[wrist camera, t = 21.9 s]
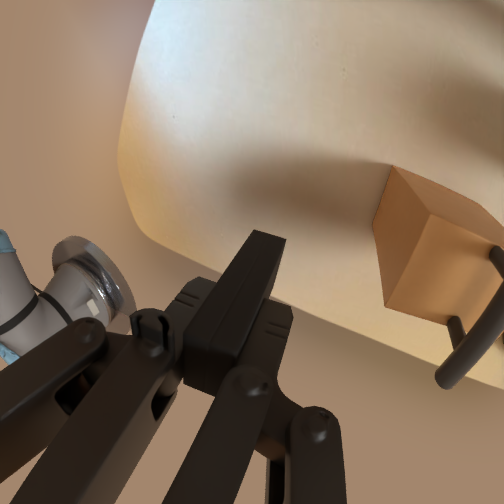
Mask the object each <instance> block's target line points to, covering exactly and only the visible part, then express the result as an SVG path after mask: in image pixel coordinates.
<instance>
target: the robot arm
mask: <svg viewBox="0 0 504 504" xmlns="http://www.w3.org/2000/svg"><path fill="white" fill-rule="evenodd" d="M285 243H286V239H284V238H281V237H278V236H274V235H271V234H268V233H264V232H261V231H258V230H253V231H252V233H251V234H250V236H249V237H248V238H247V240H246V241H245V243H244V244H243V246H242V247H241V249H240V250H239V251H238V253H237V254H236V256H235V257H234V259H233V260H232V262H231V263H230V264H229V266H228V267H227V269H226V270H225V272H224V273H223V275H222V276H221V277H220V279H219V280H218V282H217V283H216V282H213V281H211V280H208V279H204V278H201V277H197V278H195V279H193V280H191V281H189V282H188V283H187V284H186V285H185V286H184V287H183V289H182V290H181V291H180V293H179V294H178V295H177V296H176V297H175V300H173V301H172V302H171V303H170V305H169V306H168V307H167V308H166V310H165V311H164V312H163V311H162V310H157V309H154V308H148V309H141V310H138V311H135V312H134V313H133V314H132V315H130V316H129V318H130V324H131V329H132V335H124V334H118V333H113V332H108V331H106V327H107V326H108V325H109V324H110V323H111V322H112V321H113V319H114V307H113V304H112V301H111V299H110V297H109V295H108V293H107V291H106V289H105V288H104V286H103V285H102V283H101V282H100V280H99V279H98V278H97V277H96V276H95V275H94V273H93V272H92V271H91V270H90V269H88V268H87V267H86V266H85V265H83V264H82V263H80V262H78V261H76V260H67V261H65V262H64V263H63V264H61V265H60V266H59V267H58V269H57V271H56V273H55V275H54V277H53V278H52V279H51V281H50V282H49V283H48V285H47V286H46V288H45V290H44V291H41V290H39V289H38V288H36V287H35V286H33V285H32V284H31V283H30V282H29V280H28V278H27V276H26V274H25V272H24V269H23V267H22V265H21V263H20V261H19V259H18V257H17V254H16V249H14V248H13V246H12V244H11V242H10V239H9V237H8V235H7V233H6V232H5V231H4V230H2V229H0V356H1V358H2V359H3V360H4V361H5V362H6V363H7V364H8V365H9V366H7V367H6V368H4V369H3V370H2V371H0V483H2V482H3V481H4V480H5V479H7V478H8V477H9V476H11V475H12V474H13V473H14V472H16V471H17V470H18V469H20V468H21V467H22V466H24V465H25V464H26V463H27V462H29V461H30V460H31V459H32V458H34V457H35V456H36V455H38V454H39V453H40V452H41V451H42V450H44V449H45V448H46V447H47V449H46V450H45V452H44V453H43V454H42V456H41V457H40V459H39V460H38V461H37V463H36V464H35V466H34V467H33V469H32V470H31V472H30V473H29V475H28V476H27V478H26V479H25V481H24V482H23V484H22V485H21V487H20V488H19V490H18V491H17V493H16V495H15V496H14V498H13V499H12V501H11V502H10V504H114V503H115V502H116V500H117V498H118V496H119V495H120V493H121V491H122V490H123V488H124V486H125V484H126V483H127V481H128V479H129V478H130V476H131V474H132V472H133V470H134V469H135V467H136V466H137V464H138V462H139V460H140V459H141V457H142V455H143V454H144V452H145V450H146V448H147V447H148V445H149V443H150V441H151V440H152V438H153V436H154V434H155V433H156V431H157V429H158V428H159V426H160V424H161V422H162V421H163V419H164V417H165V415H166V414H167V412H168V410H169V408H170V407H171V405H172V403H173V402H174V400H175V398H176V395H177V387H178V385H179V383H180V381H181V380H182V378H183V383H184V384H185V385H187V386H190V387H192V388H195V389H197V390H200V391H202V392H204V393H207V394H209V395H212V396H214V397H215V399H214V401H213V403H212V405H211V407H210V409H209V411H208V413H207V415H206V417H205V419H204V421H203V423H202V425H201V427H200V429H199V431H198V433H197V435H196V437H195V439H194V441H193V443H192V445H191V447H190V450H189V452H188V453H187V455H186V457H185V459H184V461H183V463H182V465H181V467H180V469H179V471H178V473H177V475H176V477H175V479H174V481H173V483H172V485H171V487H170V488H169V491H168V492H167V494H166V496H165V498H164V500H163V502H162V504H233V503H234V500H235V498H236V496H237V493H238V491H239V488H240V486H241V483H242V480H243V478H244V475H245V472H246V470H247V467H248V465H249V462H250V459H251V456H252V454H253V451H254V450H256V451H257V452H259V453H260V454H262V455H263V456H265V457H266V458H267V466H266V468H267V469H266V489H265V490H266V491H265V504H347V498H346V483H345V470H344V461H343V460H344V459H343V449H342V439H341V430H340V425H339V422H338V419H337V418H336V417H335V416H334V415H333V413H331V412H330V411H328V410H326V409H325V408H322V407H317V406H311V407H305V408H302V407H301V406H299V405H298V404H296V403H295V402H293V401H291V400H290V399H289V398H288V397H286V396H285V395H284V394H283V392H282V391H281V390H280V388H279V385H278V382H277V375H278V370H279V367H280V363H281V360H282V357H283V353H284V349H285V346H286V343H287V339H288V336H289V332H290V328H291V325H292V321H293V314H292V310H291V306H288V305H285V304H282V303H279V302H276V301H273V300H270V299H269V296H270V294H271V291H272V289H273V286H274V282H275V279H276V275H277V272H278V268H279V265H280V261H281V258H282V254H283V250H284V247H285ZM34 290H36V291H37V292H39V293H40V294H39V295H38V296H37V295H36V293H35V291H34Z"/></svg>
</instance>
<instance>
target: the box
mask: <svg viewBox="0 0 504 504" xmlns="http://www.w3.org/2000/svg"><path fill="white" fill-rule="evenodd" d="M372 227H373V232H374V237H375V243H376V249H377V255H378V261H379V268H380V275H381V282H382V290H383V298H384V306H385V307H386V308H390V309H393V310H396V311H399V312H403V313H406V314H409V315H412V316H416V317H419V318H422V319H425V320H429V321H432V322H435V323H439V324H442V325H445V326H447V328H448V331H449V335H450V338H451V342H452V346H453V350H454V351H453V352H452V353H451V354H450V355H449V357H448V358H447V359H446V360H445V361H444V362H443V363H442V365H441V366H440V367H439V368H438V369H437V370H436V372H435V380H436V382H437V384H438V385H439V386H440V387H441V388H443V389H446V390H448V389H451V388H452V387H453V386H455V384H457V383H458V381H460V379H462V378H463V376H464V375H465V374H466V373H467V372H468V371H469V370H470V369H471V368H472V367H473V366H474V365H475V364H476V363H477V362H478V360H479V359H480V358H481V357H482V356H483V355H484V354H485V352H486V351H487V350H488V349H489V348H490V346H491V345H492V344H493V343H494V342H495V340H497V339H498V338H499V337H500V336H501V334H502V333H503V332H504V227H503V226H502V225H501V224H500V223H499V222H498V221H497V220H496V219H495V218H494V217H493V216H492V215H491V214H490V213H489V212H487V211H486V210H485V209H484V208H483V207H482V206H481V205H480V204H478V203H476V202H474V201H472V200H470V199H468V198H466V197H464V196H462V195H460V194H458V193H456V192H454V191H452V190H450V189H448V188H446V187H444V186H441V185H439V184H437V183H435V182H433V181H430V180H428V179H426V178H423V177H421V176H419V175H416V174H414V173H411V172H409V171H407V170H404V169H401V168H399V167H396V166H394V165H393V166H392V169H391V172H390V175H389V178H388V181H387V184H386V187H385V190H384V193H383V196H382V199H381V202H380V204H379V207H378V210H377V213H376V215H375V218H374V221H373V223H372ZM465 332H468V333H467V335H466V333H465Z"/></svg>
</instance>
